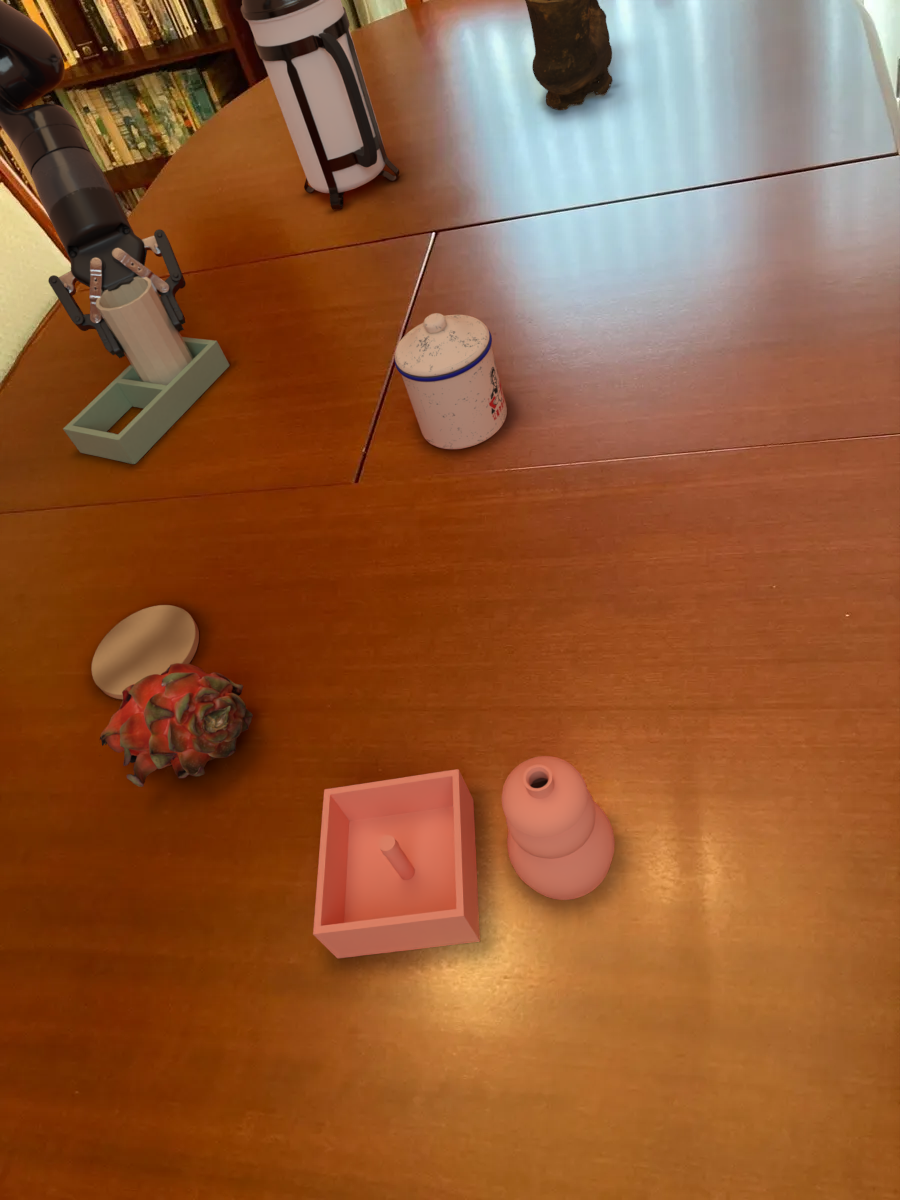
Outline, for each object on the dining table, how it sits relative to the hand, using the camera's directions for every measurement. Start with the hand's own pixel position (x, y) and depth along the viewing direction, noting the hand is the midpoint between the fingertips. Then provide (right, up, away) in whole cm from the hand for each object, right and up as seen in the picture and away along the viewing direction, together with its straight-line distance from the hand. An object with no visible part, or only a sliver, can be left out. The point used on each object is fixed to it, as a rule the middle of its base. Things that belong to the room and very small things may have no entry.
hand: (150, 341), depth 98 cm
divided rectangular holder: (-1, -7, +4) cm, 8 cm away
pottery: (+35, -46, -42) cm, 71 cm away
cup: (+1, -3, +5) cm, 6 cm away
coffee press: (+20, +31, +30) cm, 48 cm away
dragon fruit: (+14, -40, -30) cm, 52 cm away
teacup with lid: (+35, -10, -11) cm, 38 cm away
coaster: (+7, -33, -22) cm, 40 cm away
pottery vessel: (+52, +46, +32) cm, 77 cm away
